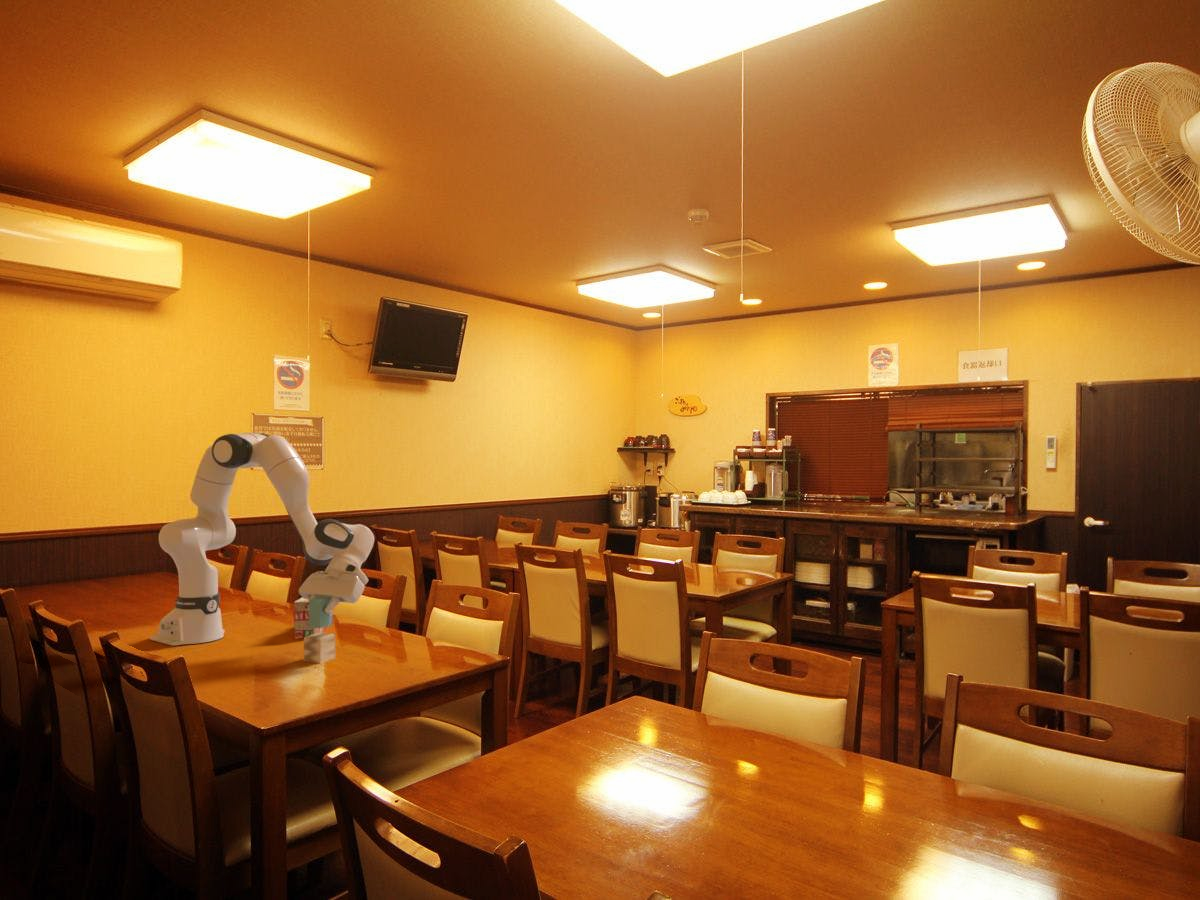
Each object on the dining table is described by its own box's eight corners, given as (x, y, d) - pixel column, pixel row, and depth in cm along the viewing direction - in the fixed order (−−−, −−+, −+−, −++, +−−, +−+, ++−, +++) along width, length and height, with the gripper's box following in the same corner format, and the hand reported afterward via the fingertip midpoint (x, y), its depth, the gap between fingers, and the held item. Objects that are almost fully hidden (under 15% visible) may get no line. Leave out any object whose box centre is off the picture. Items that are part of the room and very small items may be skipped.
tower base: (304, 661, 216) (303, 649, 216) (318, 656, 222) (318, 644, 222) (320, 663, 214) (320, 651, 214) (335, 658, 220) (335, 646, 220)
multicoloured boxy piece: (314, 624, 263) (314, 589, 263) (333, 623, 263) (332, 588, 263) (293, 639, 242) (293, 601, 242) (313, 639, 242) (313, 600, 242)
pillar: (308, 627, 217) (308, 599, 217) (318, 624, 221) (318, 596, 221) (319, 628, 215) (319, 600, 215) (329, 625, 219) (329, 597, 219)
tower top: (303, 649, 216) (303, 637, 216) (318, 644, 222) (318, 632, 222) (320, 651, 214) (320, 639, 214) (335, 646, 220) (334, 634, 220)
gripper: (308, 564, 228) (284, 602, 219) (363, 568, 221) (340, 607, 212) (319, 576, 232) (295, 615, 223) (373, 580, 225) (351, 620, 216)
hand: (317, 611), depth 217 cm, fingers closed on pillar, 4 cm apart
